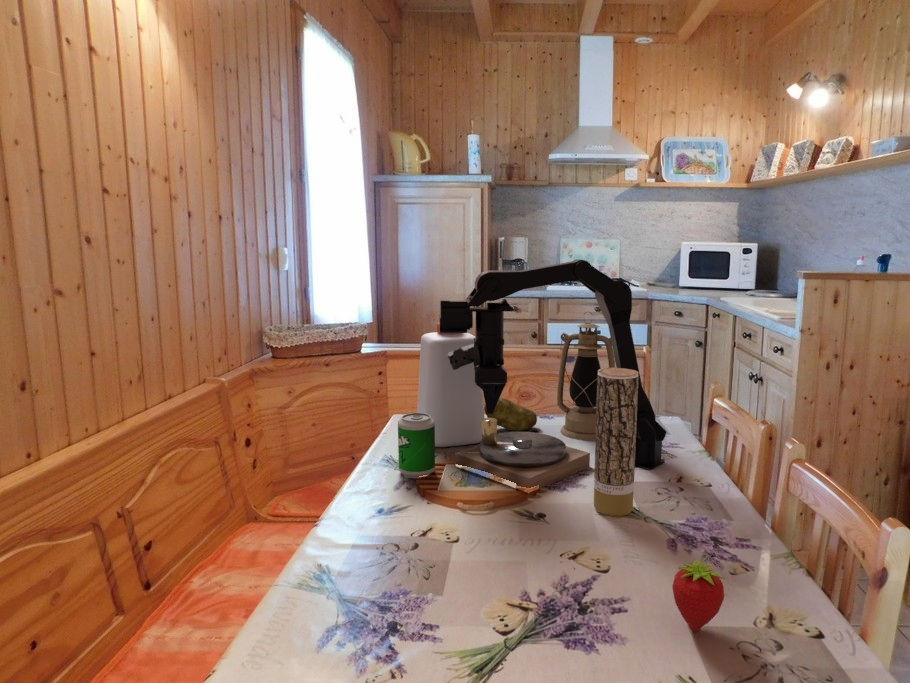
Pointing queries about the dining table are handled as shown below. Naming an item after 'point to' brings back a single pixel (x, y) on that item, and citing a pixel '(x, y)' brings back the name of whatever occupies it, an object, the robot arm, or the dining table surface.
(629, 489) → the paper tube
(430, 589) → the dining table surface
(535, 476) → the wheel base
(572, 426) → the lantern
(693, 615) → the strawberry
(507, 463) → the handwheel
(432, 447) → the soda can
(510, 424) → the potato
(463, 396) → the plastic bottle
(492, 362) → the robot arm
